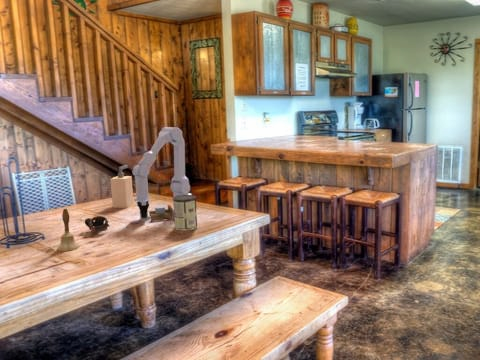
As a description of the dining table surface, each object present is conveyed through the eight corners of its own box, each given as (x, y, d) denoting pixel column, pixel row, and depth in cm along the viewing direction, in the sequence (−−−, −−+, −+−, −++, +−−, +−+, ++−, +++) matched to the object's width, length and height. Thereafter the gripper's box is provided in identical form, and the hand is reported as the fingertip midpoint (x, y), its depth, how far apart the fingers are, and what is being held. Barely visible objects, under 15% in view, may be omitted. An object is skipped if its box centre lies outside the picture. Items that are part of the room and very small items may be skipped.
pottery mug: (114, 229, 201) (112, 216, 196) (103, 244, 194) (102, 231, 189) (90, 222, 203) (88, 209, 198) (79, 236, 196) (76, 223, 191)
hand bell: (72, 243, 181) (68, 205, 179) (83, 247, 176) (79, 208, 173) (53, 248, 175) (48, 209, 172) (64, 252, 170) (59, 212, 167)
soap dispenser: (126, 207, 241) (123, 168, 238) (112, 207, 243) (109, 168, 239) (136, 202, 254) (134, 164, 250) (123, 202, 255) (120, 164, 252)
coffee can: (182, 223, 206) (180, 194, 203) (201, 225, 202) (200, 195, 199) (170, 229, 197) (168, 198, 194) (189, 231, 192) (188, 200, 190)
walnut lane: (170, 214, 223) (170, 205, 222) (173, 219, 215) (172, 209, 214) (149, 216, 220) (148, 207, 220) (151, 221, 212) (150, 211, 211)
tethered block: (164, 216, 220) (164, 205, 219) (165, 218, 216) (165, 207, 215) (140, 218, 217) (139, 208, 216) (140, 221, 213) (140, 209, 212)
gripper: (132, 187, 219) (134, 214, 221) (134, 192, 205) (136, 221, 207) (147, 186, 221) (149, 212, 223) (149, 191, 207) (151, 219, 209)
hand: (144, 216), depth 215 cm, fingers closed on tethered block, 3 cm apart
